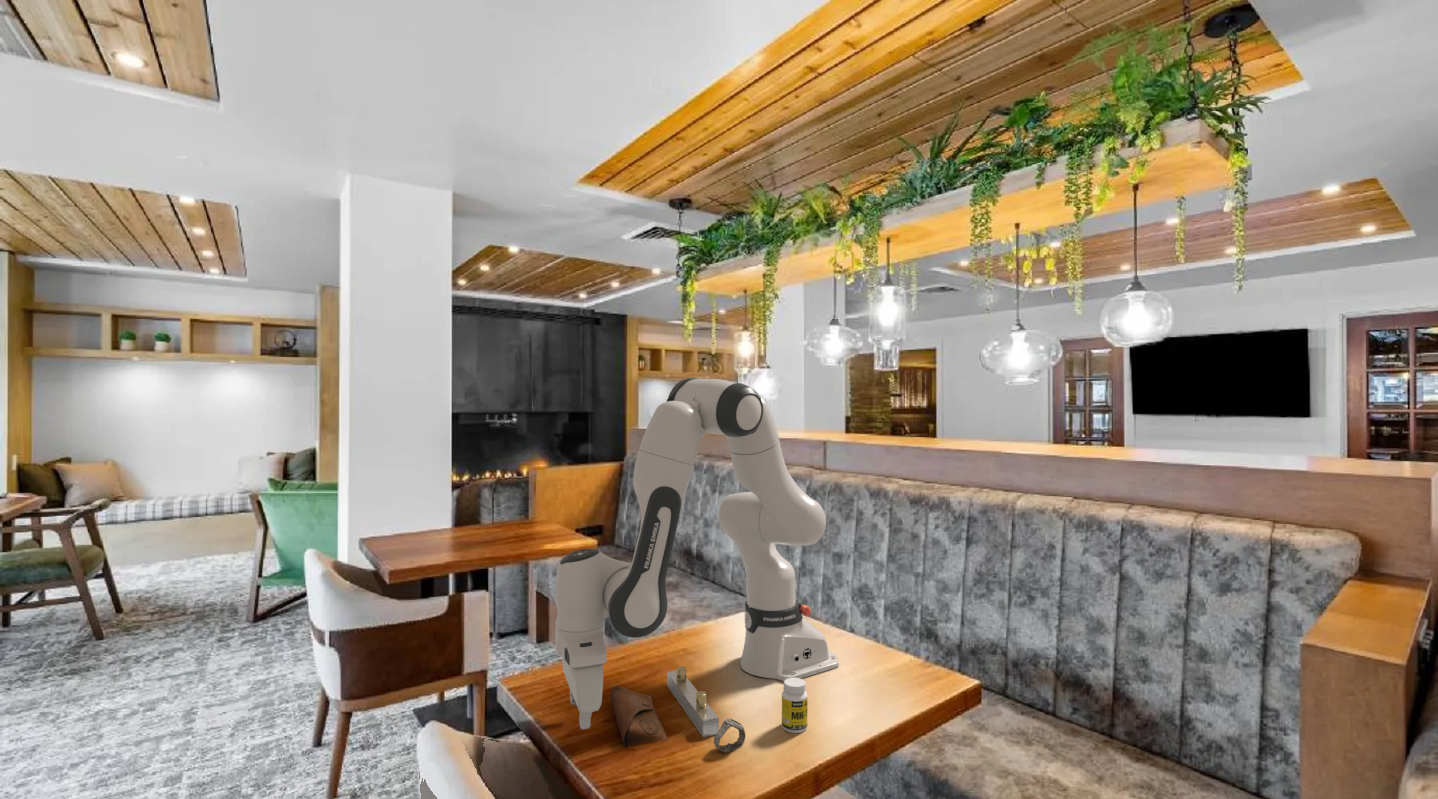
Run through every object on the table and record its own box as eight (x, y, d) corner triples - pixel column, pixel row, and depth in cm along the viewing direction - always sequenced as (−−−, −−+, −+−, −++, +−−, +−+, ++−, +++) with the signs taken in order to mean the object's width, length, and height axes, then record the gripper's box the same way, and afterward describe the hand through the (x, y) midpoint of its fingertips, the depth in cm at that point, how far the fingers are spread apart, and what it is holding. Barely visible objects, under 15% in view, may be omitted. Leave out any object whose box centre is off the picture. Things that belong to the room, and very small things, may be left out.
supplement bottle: (791, 736, 117) (791, 690, 117) (776, 724, 121) (776, 679, 121) (812, 729, 119) (812, 684, 119) (797, 718, 123) (797, 674, 123)
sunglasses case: (671, 739, 116) (652, 710, 115) (637, 765, 114) (618, 736, 113) (650, 694, 133) (633, 669, 132) (621, 717, 131) (604, 691, 130)
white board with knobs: (680, 683, 138) (680, 658, 138) (718, 734, 118) (718, 704, 117) (667, 686, 137) (667, 660, 137) (703, 737, 116) (703, 707, 116)
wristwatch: (749, 746, 113) (749, 718, 113) (721, 759, 110) (721, 729, 110) (736, 738, 116) (736, 710, 116) (708, 750, 112) (708, 721, 112)
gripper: (554, 623, 127) (554, 693, 127) (571, 663, 108) (571, 745, 108) (586, 619, 129) (586, 688, 130) (609, 657, 111) (609, 738, 111)
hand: (580, 714), depth 119 cm, fingers open, 8 cm apart
